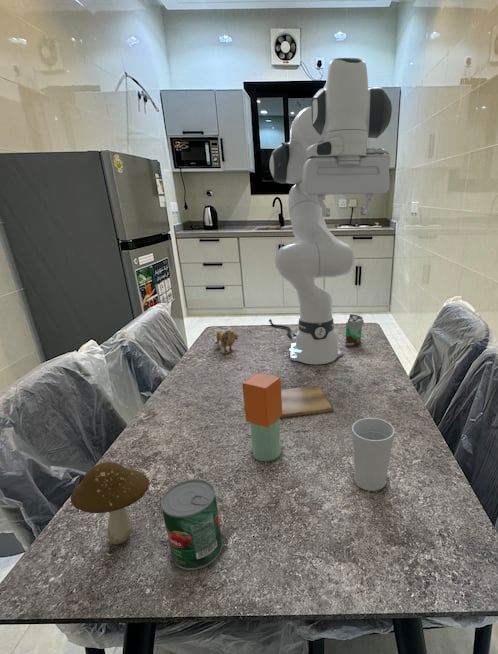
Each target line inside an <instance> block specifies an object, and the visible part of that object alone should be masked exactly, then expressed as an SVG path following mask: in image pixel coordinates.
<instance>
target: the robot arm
mask: <svg viewBox="0 0 498 654" xmlns="http://www.w3.org/2000/svg"><path fill="white" fill-rule="evenodd" d="M326 75H327V77H326V82H325V84H324V86H323V88H320V89H319V90H318V91H317V92H316V93H315V94H314V95H313V97H312V98H311V106H307V107H305V108H302V109H301V110H300V111H299V112H298V114H296V116H295V117H294V119H293V121H292V123H291V127H290V140H289V141H288V142H285V140H282V141H281V143H280V145H278V146H276V147H275V148H274V149H273V151H272V152H271V155H270V158H269V171H270V174H271V177H272V179H273V180H274V182H276V183H279V184H283V185H285V184H291V185H293V186H291V188H290V190H289V193H288V211H289V213H288V214H289V218H290V224H291V230H292V234H293V236H294V238H295V239H296V240H297V242H299V243H292V244H288V245H284V246H281V247H280V248H279V249H278V251H277V253H276V255H275V259H274V260H275V261H274V264H275V268H276V270H277V273H278V274H279V275H280V276H281V277H282V278H283V279H284V280H286V281H288V282H289V283H290V285H291V286H292V287H293V289H294V291H295V292H296V295H297V299H298V306H299V318H298V330H297V331H296V332H293V333H292V335H291V331H292V330H291V328H290V327H289V326H287V325H279V324H274V323H273V321H272V319H271V318H269V319H268V323H270V325H271V326H272V327H276V328H282V329H286V330H287V335H288V337H289V339H291V344H290V348H289V349H288V350H289V352H290V357H289V359H290V361H294V362H299V363H303V364H307V365H326V364H329V363H332V362H334V361H335V360H337V358H339V357H341V356H342V355H343V352H342V351H341V350H340V349H339V340H338V337H339V336H338V333H337V332H336V331H335V330H334V328H335V327H334V326H335V321H334V318H333V297H332V294H331V293H330V292H329V291H327V290H326V289H324V288H322V287H320V286H317V285H316V282H315V280H316V279H324V278H337V277H341V276H345V275H348V274H350V272H352V270H353V268H354V266H355V263H356V262H355V260H356V256H355V252H354V250H353V248H352V247H351V245H350V244H348V243H346V242H344V241H342V240H340V239H339V238H337V236H335V235H334V234H333V233H332V232H331V230H329V229H330V228H328V226H327V224H326V221H325V217H326V218H327V217H328V218H329V217H330V216H331V207H330V208H329V207H327V206H326V204H325V202H324V201H326V196H329V195H331V196H332V195H365V200H366V202H365V204H364V206H361V207H360V216H369V215H370V207H371V205H372V203H373V202H374V200H375V194H376V195H377V194H387V193H388V191H389V190H390V189H391V188H390V186H391V183H390V182H391V181H390V180H391V177H390V166H391V154H390V153H389V151H387V150H386V149H385V148H382V147H381V148H380V147H379V148H374V147H373V148H368V139H378V138H379V137H380V136H381V135H382V134H384V132H385V131H386V130H387V128H388V127H389V125H390V123H391V120H392V119H391V118H392V113H393V112H392V111H393V106H392V101H391V98H390V97H389V95H388V94H387V92H386V91H385V90H384V88H383V87H381V86H374V87H373V86H371V87H369V79H368V69H367V64H366V62H365V61H364V60H363V59H361V58H360V57H349V56H348V57H346V56H345V57H341V56H340V57H335V58H333V59H331V60H330V61H329V63H328V68H327V74H326Z"/></svg>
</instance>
